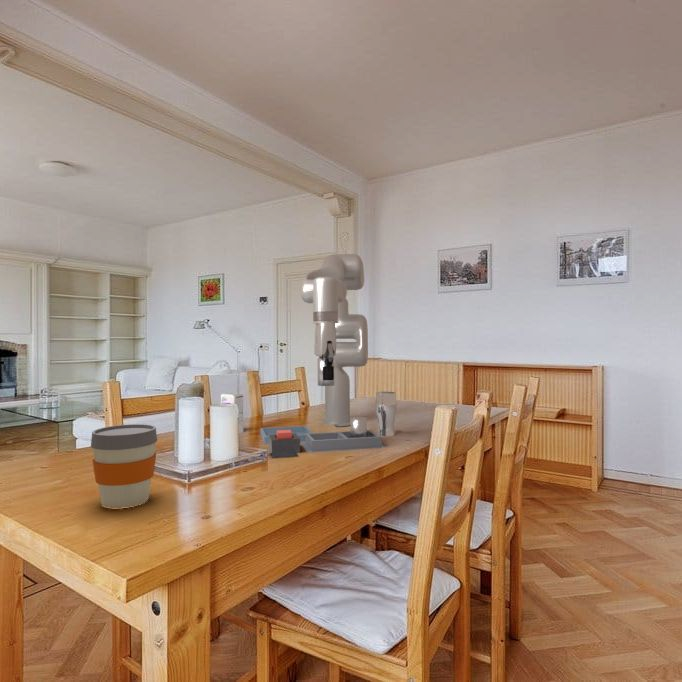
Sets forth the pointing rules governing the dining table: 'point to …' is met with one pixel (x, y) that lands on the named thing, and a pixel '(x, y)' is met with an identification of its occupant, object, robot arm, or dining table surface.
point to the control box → (284, 446)
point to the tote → (294, 429)
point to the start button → (283, 434)
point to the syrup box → (235, 399)
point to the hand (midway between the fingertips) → (326, 378)
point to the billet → (320, 374)
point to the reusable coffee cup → (124, 463)
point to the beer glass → (386, 412)
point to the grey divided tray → (340, 442)
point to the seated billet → (358, 427)
